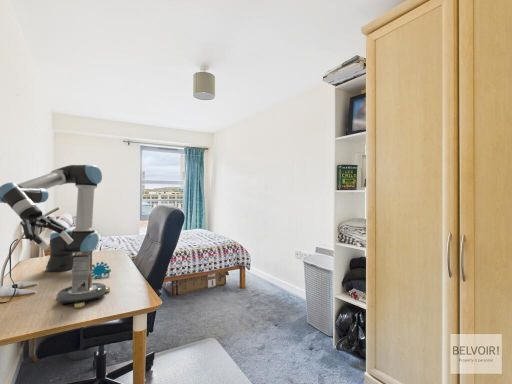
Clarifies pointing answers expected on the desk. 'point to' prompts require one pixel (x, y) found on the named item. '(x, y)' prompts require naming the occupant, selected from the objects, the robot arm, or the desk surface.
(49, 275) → the desk surface
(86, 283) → the coffee box
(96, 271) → the gear
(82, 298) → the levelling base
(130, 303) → the desk surface
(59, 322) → the desk surface
